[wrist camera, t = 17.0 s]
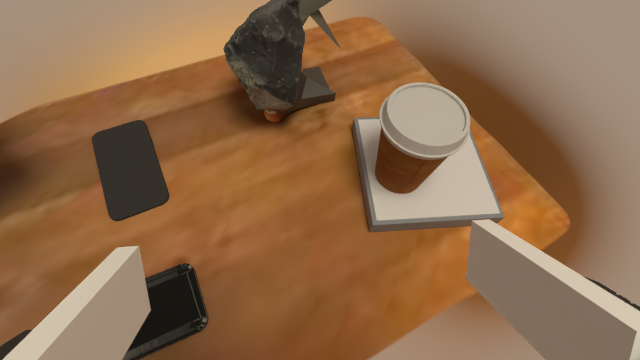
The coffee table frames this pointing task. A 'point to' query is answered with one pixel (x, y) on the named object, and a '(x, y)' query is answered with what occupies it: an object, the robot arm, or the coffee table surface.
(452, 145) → the disposable coffee cup
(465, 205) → the plate
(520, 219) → the coffee table surface
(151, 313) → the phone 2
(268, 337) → the coffee table surface
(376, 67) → the coffee table surface
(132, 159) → the phone
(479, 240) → the robot arm
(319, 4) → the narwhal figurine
